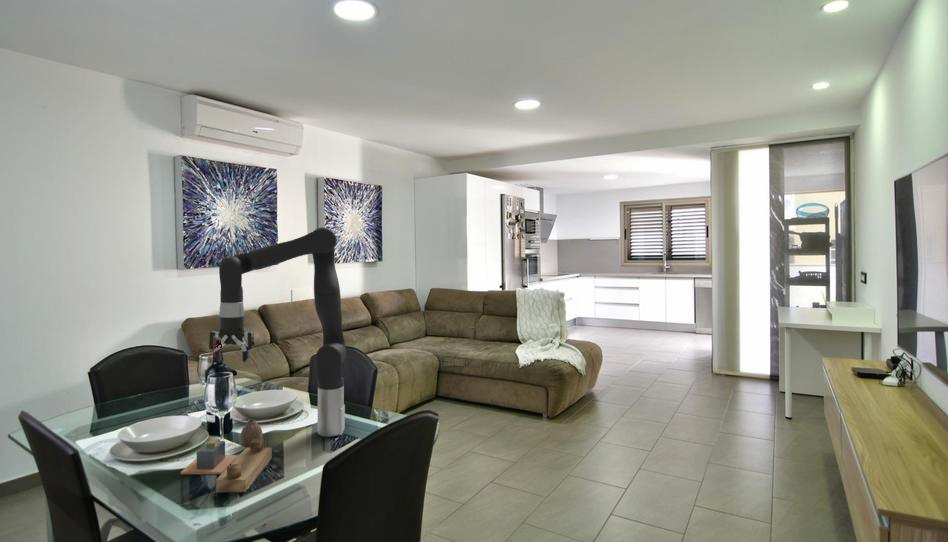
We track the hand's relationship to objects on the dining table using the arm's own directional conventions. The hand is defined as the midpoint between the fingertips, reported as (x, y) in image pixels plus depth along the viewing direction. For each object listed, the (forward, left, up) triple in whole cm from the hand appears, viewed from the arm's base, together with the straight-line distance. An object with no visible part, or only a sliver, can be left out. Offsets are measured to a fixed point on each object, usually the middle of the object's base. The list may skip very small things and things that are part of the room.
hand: (232, 361), depth 174 cm
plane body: (-14, +25, -28) cm, 40 cm away
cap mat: (-1, +19, -28) cm, 34 cm away
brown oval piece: (-8, +4, -28) cm, 30 cm away
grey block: (-1, +19, -28) cm, 33 cm away
